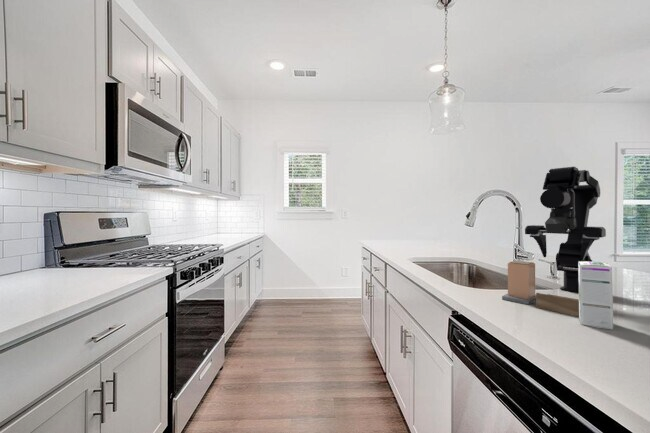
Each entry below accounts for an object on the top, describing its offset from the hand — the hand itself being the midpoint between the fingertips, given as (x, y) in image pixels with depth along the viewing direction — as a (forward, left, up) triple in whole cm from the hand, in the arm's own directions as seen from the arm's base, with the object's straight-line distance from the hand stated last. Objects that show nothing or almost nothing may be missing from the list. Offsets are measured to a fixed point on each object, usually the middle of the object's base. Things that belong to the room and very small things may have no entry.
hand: (562, 258), depth 91 cm
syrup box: (+20, +11, -12) cm, 26 cm away
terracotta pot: (+11, -8, -11) cm, 17 cm away
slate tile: (+11, -8, -12) cm, 18 cm away
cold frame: (+12, +3, -12) cm, 17 cm away
